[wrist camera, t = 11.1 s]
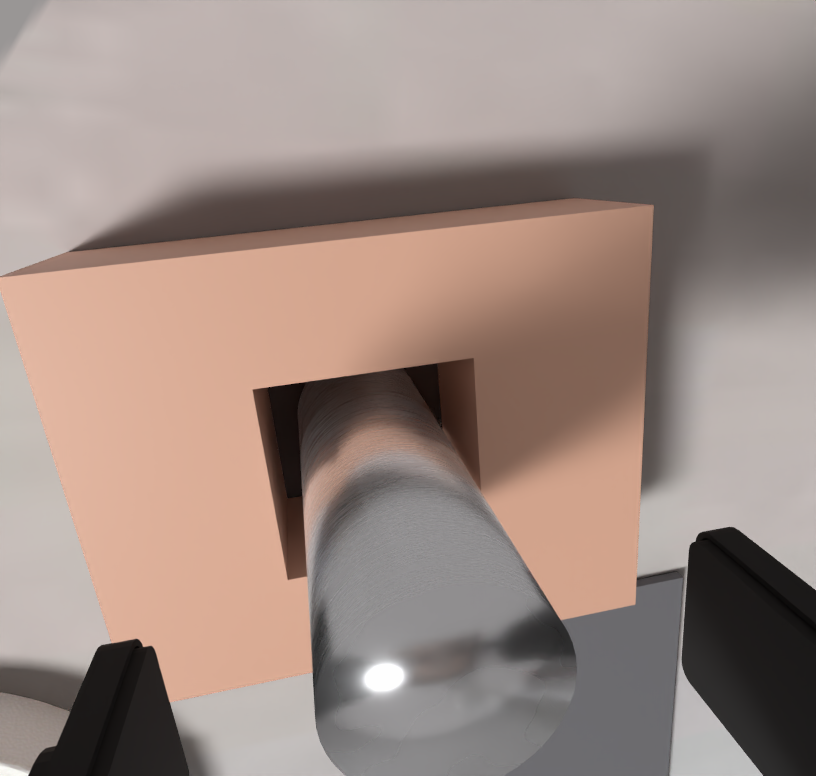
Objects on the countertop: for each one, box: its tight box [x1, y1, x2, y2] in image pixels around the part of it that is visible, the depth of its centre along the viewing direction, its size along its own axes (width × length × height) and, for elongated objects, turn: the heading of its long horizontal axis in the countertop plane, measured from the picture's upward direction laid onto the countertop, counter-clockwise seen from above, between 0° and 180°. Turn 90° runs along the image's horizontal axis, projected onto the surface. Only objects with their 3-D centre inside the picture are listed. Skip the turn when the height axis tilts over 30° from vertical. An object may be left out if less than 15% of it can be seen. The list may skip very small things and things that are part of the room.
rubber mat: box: [504, 572, 683, 776], centre depth 26 cm, size 12×12×1 cm
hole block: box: [0, 198, 654, 702], centre depth 18 cm, size 15×12×4 cm
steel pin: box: [298, 368, 577, 776], centre depth 15 cm, size 4×4×12 cm
